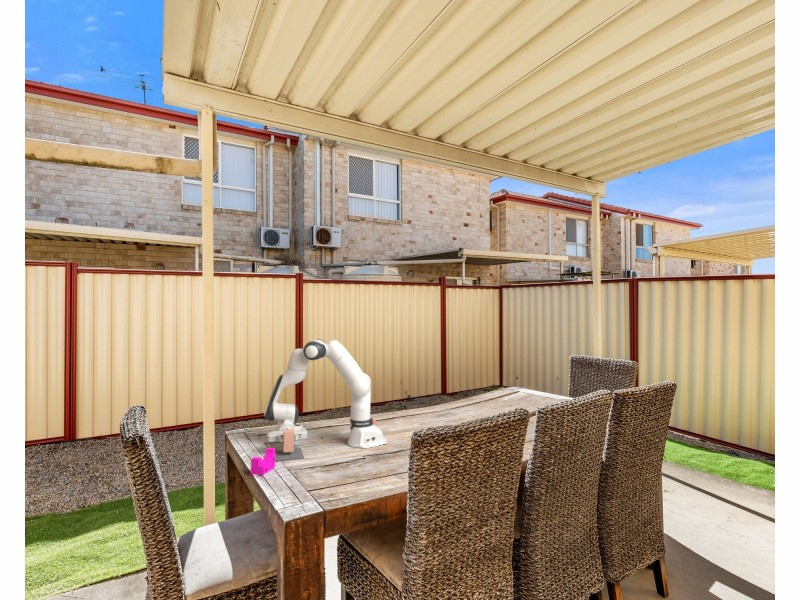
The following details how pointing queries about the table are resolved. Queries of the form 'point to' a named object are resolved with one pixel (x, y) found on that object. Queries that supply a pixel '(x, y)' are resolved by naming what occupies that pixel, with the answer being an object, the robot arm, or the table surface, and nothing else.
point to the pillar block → (288, 440)
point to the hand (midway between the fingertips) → (288, 440)
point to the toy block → (263, 462)
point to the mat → (288, 455)
